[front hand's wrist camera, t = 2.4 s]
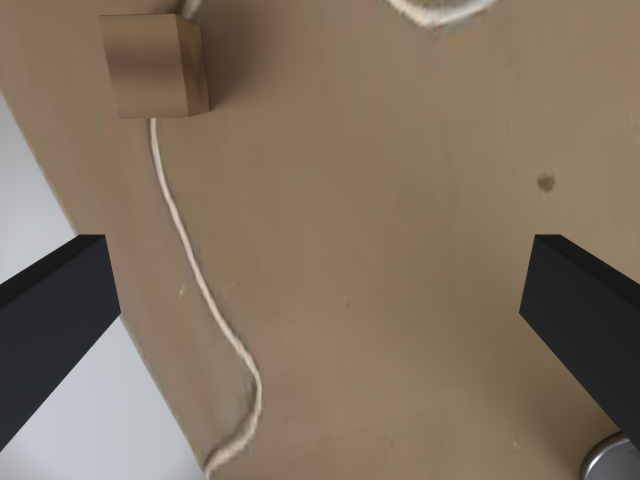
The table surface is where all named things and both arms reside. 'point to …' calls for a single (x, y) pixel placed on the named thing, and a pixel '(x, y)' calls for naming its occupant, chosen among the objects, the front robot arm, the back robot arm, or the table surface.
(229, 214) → the table surface
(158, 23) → the block
